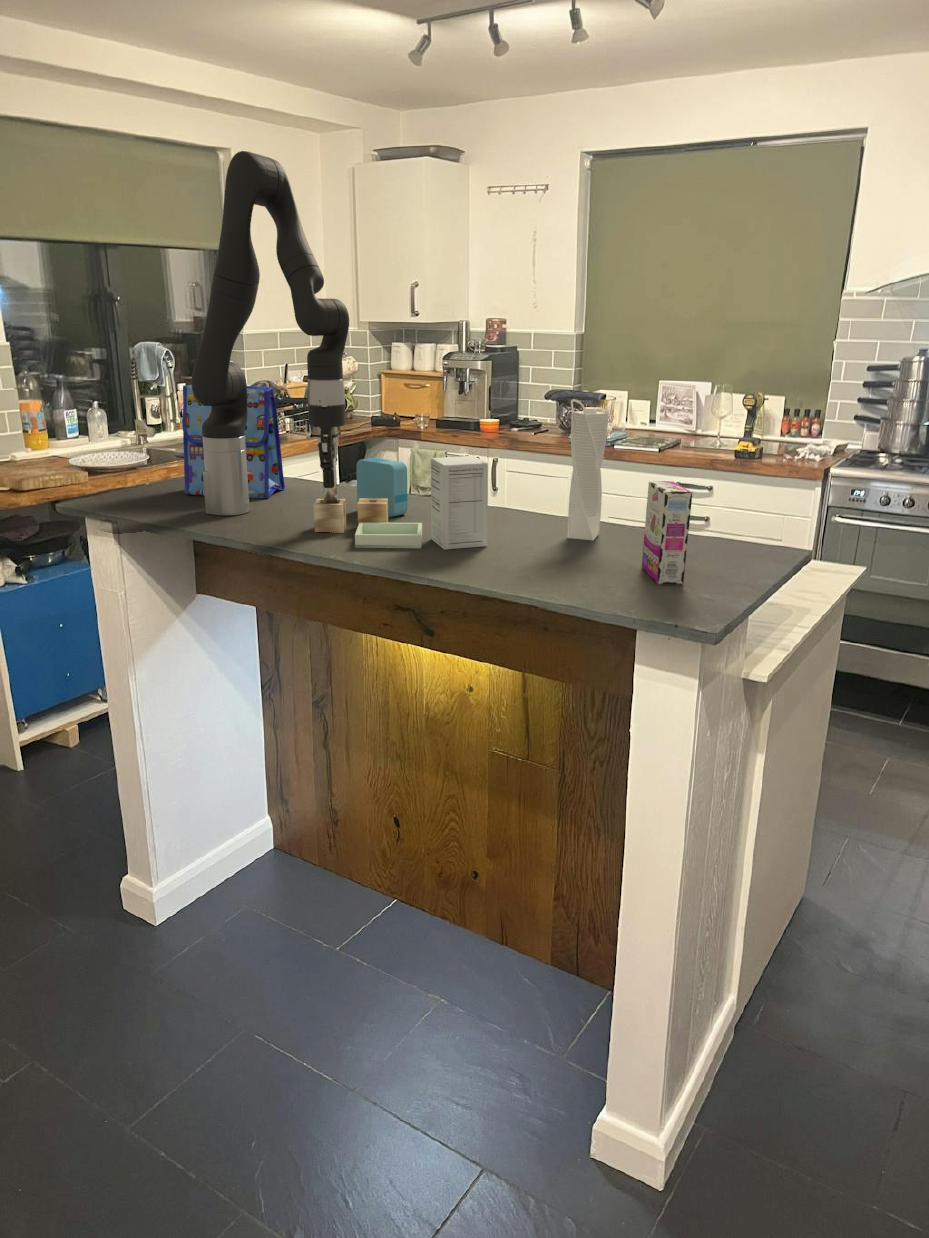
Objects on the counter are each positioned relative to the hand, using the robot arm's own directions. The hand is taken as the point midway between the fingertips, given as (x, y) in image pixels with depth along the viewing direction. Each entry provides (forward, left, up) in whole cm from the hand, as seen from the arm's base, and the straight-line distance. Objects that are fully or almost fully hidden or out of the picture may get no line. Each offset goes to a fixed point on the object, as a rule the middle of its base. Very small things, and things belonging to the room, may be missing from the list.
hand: (329, 485), depth 196 cm
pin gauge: (0, 0, -5) cm, 5 cm away
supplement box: (+27, -11, -10) cm, 31 cm away
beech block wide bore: (0, 0, -9) cm, 9 cm away
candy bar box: (+63, -35, -10) cm, 73 cm away
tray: (+13, -10, -9) cm, 19 cm away
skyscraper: (+53, -5, -10) cm, 54 cm away
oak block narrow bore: (+9, +1, -9) cm, 13 cm away
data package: (+10, +17, -10) cm, 22 cm away
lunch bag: (-28, +40, -10) cm, 50 cm away
